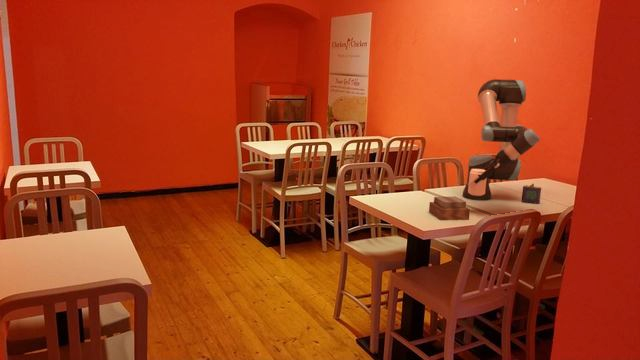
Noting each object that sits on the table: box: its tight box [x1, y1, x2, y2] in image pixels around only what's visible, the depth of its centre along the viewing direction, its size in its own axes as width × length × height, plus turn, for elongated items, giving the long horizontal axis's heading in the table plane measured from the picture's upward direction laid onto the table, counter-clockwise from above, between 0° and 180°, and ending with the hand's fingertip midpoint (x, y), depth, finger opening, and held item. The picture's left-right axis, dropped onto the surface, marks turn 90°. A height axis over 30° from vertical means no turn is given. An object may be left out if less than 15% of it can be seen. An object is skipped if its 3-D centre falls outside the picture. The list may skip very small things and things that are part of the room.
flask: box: [521, 182, 542, 205], centre depth 279 cm, size 9×3×11 cm, turn 74°
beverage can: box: [468, 169, 487, 196], centre depth 255 cm, size 8×8×12 cm
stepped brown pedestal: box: [428, 195, 471, 221], centre depth 247 cm, size 14×14×8 cm
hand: (470, 184), depth 256 cm, fingers closed on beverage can, 8 cm apart
